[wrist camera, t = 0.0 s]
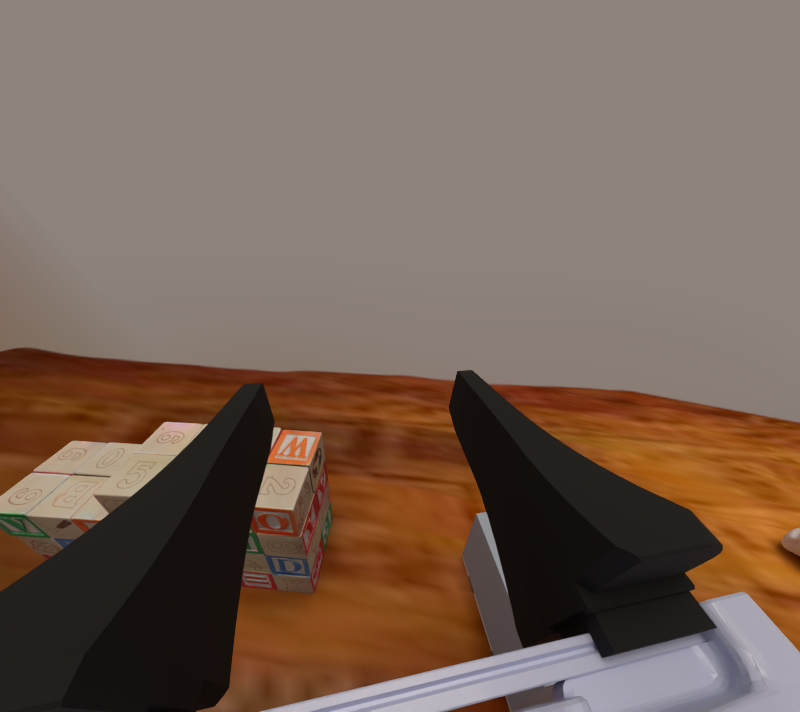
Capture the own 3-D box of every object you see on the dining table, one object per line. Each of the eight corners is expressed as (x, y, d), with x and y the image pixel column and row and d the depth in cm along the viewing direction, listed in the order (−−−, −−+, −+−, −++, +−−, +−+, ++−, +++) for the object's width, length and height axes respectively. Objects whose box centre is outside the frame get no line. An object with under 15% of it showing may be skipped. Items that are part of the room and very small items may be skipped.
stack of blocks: (59, 574, 23) (-63, 483, 17) (125, 501, 29) (52, 411, 22) (316, 594, 23) (293, 509, 17) (334, 516, 28) (323, 429, 22)
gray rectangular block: (551, 700, 19) (594, 673, 15) (510, 711, 18) (544, 686, 15) (492, 550, 26) (511, 508, 23) (461, 556, 26) (476, 513, 22)
